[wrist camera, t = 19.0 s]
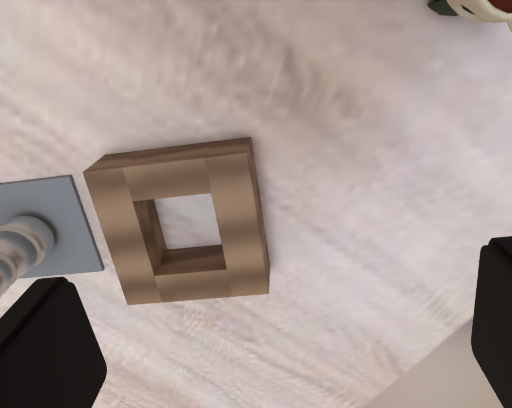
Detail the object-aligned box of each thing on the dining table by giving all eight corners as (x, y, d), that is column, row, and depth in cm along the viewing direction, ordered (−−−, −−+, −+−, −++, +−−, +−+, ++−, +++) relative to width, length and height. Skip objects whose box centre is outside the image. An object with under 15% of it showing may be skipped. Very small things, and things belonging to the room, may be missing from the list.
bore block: (104, 155, 49) (82, 172, 43) (250, 137, 47) (246, 152, 42) (142, 277, 56) (127, 305, 51) (269, 266, 54) (268, 293, 49)
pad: (-31, 187, 52) (-34, 188, 51) (71, 175, 50) (69, 176, 50) (11, 276, 57) (9, 279, 57) (104, 268, 56) (102, 270, 55)
